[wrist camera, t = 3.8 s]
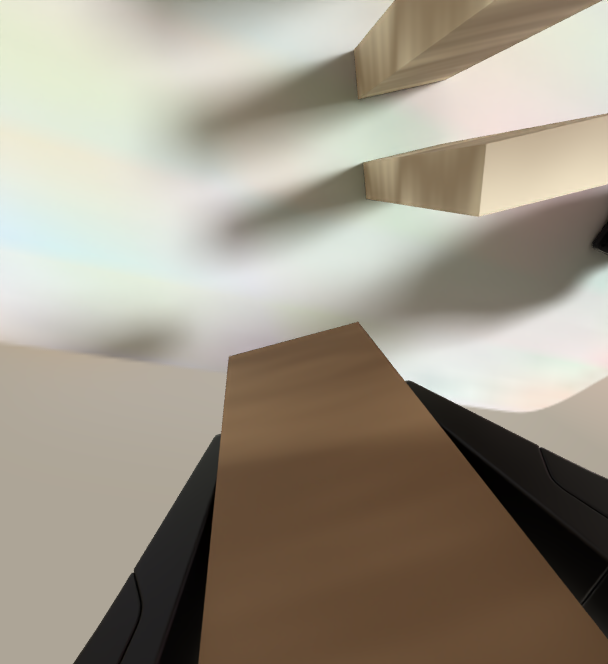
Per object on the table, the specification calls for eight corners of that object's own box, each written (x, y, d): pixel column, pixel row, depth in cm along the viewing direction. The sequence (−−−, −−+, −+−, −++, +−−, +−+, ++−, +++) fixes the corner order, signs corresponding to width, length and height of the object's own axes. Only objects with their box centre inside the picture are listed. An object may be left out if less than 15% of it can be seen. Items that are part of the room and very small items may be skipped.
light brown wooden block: (440, 180, 18) (618, 181, 9) (366, 198, 18) (479, 216, 9) (442, 144, 17) (642, 107, 8) (363, 162, 17) (486, 143, 8)
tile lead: (363, 363, 12) (693, 885, 3) (245, 396, 11) (241, 1079, 3) (358, 321, 11) (827, 919, 2) (228, 356, 10) (144, 1222, 2)
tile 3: (444, 80, 16) (689, -44, 7) (358, 99, 15) (501, -5, 7) (446, 30, 15) (735, -187, 6) (353, 49, 14) (515, -148, 6)
